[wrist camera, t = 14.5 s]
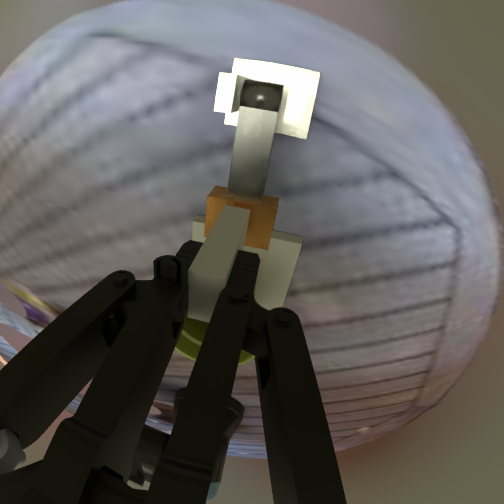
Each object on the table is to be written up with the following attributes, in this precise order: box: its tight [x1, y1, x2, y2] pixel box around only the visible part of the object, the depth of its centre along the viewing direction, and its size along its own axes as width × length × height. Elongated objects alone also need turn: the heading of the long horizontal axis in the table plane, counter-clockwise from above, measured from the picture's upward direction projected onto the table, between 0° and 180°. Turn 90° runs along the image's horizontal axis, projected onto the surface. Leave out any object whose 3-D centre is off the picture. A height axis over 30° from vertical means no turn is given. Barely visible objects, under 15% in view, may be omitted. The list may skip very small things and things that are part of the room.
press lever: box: [204, 79, 284, 250], centre depth 17 cm, size 10×4×2 cm, turn 171°
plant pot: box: [175, 289, 255, 366], centre depth 27 cm, size 9×9×9 cm
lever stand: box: [214, 58, 320, 139], centre depth 17 cm, size 6×7×9 cm
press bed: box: [192, 215, 302, 311], centre depth 31 cm, size 12×11×2 cm
